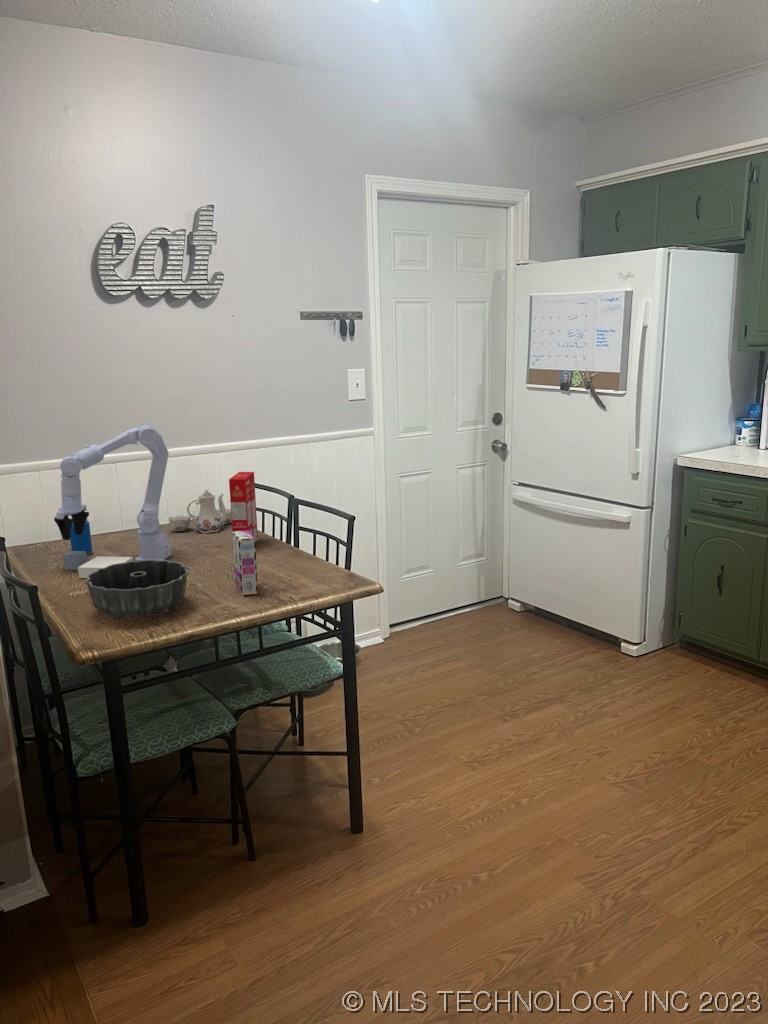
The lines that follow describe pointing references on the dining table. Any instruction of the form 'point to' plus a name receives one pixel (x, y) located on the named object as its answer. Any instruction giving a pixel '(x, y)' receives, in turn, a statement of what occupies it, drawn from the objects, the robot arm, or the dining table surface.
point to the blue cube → (74, 559)
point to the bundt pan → (138, 588)
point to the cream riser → (100, 564)
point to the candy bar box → (245, 561)
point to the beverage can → (81, 539)
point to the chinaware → (204, 515)
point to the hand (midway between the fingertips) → (72, 536)
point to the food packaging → (243, 503)
